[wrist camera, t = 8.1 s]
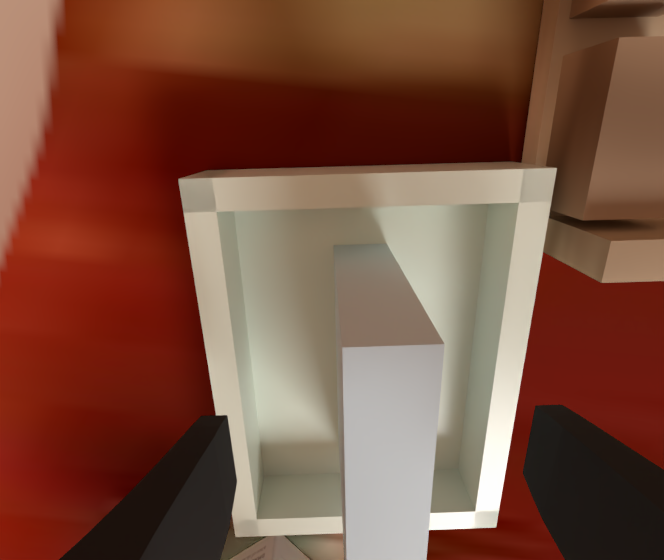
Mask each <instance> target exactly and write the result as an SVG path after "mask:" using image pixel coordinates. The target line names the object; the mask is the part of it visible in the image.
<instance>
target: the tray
mask: <svg viewBox="0 0 664 560" xmlns="http://www.w3.org/2000/svg"><path fill="white" fill-rule="evenodd" d="M556 172H557V168H554V167H547V166H540V165H533V164H526V163H519V162H512V161H510V162H475V163H440V164H406V165H371V166H336V167H302V168H267V169H232V170H206V171H203V172H199V173H196V174H193V175H189V176H186V177H183V178H180V179H178V181H179V188H180V194H181V200H182V206H183V213H184V219H185V225H186V231H187V238H188V244H189V250H190V256H191V262H192V269H193V275H194V281H195V287H196V294H197V300H198V306H199V312H200V319H201V325H202V331H203V337H204V344H205V350H206V356H207V362H208V368H209V375H210V381H211V387H212V393H213V400H214V406H215V412H216V415H227V416H228V423H229V430H230V437H231V443H232V450H233V457H234V464H235V471H236V477H237V486H236V492H235V497H234V503H233V509H232V518H233V524H234V530H235V537H254V536H281V535H307V534H334V533H343V524H342V503H341V482H340V461H339V439H338V400H337V362H336V323H335V285H334V246H333V245H356V244H387V245H388V247H389V248H390V250H391V252H392V254H393V255H394V257H395V259H396V261H397V262H398V264H399V266H400V268H401V269H402V271H403V273H404V275H405V276H406V278H407V280H408V281H409V283H410V285H411V287H412V288H413V290H414V292H415V294H416V295H417V297H418V299H419V301H420V302H421V304H422V306H423V307H424V309H425V311H426V313H427V314H428V316H429V318H430V320H431V321H432V323H433V325H434V327H435V328H436V330H437V332H438V334H439V335H440V337H441V339H442V340H443V342H444V344H445V346H444V358H443V369H442V381H441V393H440V405H439V416H438V428H437V440H436V452H435V463H434V475H433V487H432V498H431V510H430V522H429V530H441V529H468V528H495V527H496V524H497V519H498V513H499V507H500V501H501V495H502V489H503V483H504V477H505V472H506V466H507V460H508V454H509V448H510V442H511V436H512V430H513V424H514V419H515V413H516V407H517V401H518V395H519V389H520V383H521V377H522V372H523V366H524V360H525V354H526V348H527V342H528V336H529V330H530V324H531V319H532V313H533V307H534V301H535V295H536V289H537V283H538V277H539V272H540V266H541V260H542V254H543V248H544V242H545V236H546V230H547V224H548V219H549V213H550V207H551V201H552V195H553V189H554V183H555V177H556Z"/></svg>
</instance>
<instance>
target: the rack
mask: <svg viewBox="0 0 664 560" xmlns="http://www.w3.org/2000/svg"><path fill="white" fill-rule="evenodd" d="M571 4H572V0H544V3H543V11H542V18H541V25H540V32H539V40H538V47H537V54H536V61H535V68H534V76H533V83H532V90H531V97H530V105H529V112H528V119H527V126H526V134H525V141H524V148H523V155H522V162H521V163H526V164H533V165H540V166H546V161H547V155H548V148H549V142H550V136H551V130H552V123H553V117H554V111H555V105H556V98H557V92H558V86H559V80H560V73H561V67H562V61H563V56H564V55H567V54H570V53H573V52H576V51H579V50H582V49H585V48H588V47H592V46H595V45H598V44H601V43H604V42H607V41H610V40H613V39H616V38H619V37H650V36H664V15H661V16H658V17H621V18H582V19H569V17H570V11H571ZM543 252H545V253H546V254H548V255H550V256H552V257H554V258H556V259H558V260H560V261H561V262H563V263H565V264H567V265H569V266H571V267H573V268H575V269H576V270H578V271H580V272H582V273H584V274H586V275H588V276H590V277H591V278H593V279H595V280H597V281H599V282H601V283H613V282H644V281H664V218H649V219H616V220H583V221H582V220H579V219H576V218H573V217H570V216H567V215H564V214H561V213H558V212H555V211H552V210H550V213H549V219H548V224H547V230H546V236H545V242H544V248H543Z"/></svg>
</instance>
